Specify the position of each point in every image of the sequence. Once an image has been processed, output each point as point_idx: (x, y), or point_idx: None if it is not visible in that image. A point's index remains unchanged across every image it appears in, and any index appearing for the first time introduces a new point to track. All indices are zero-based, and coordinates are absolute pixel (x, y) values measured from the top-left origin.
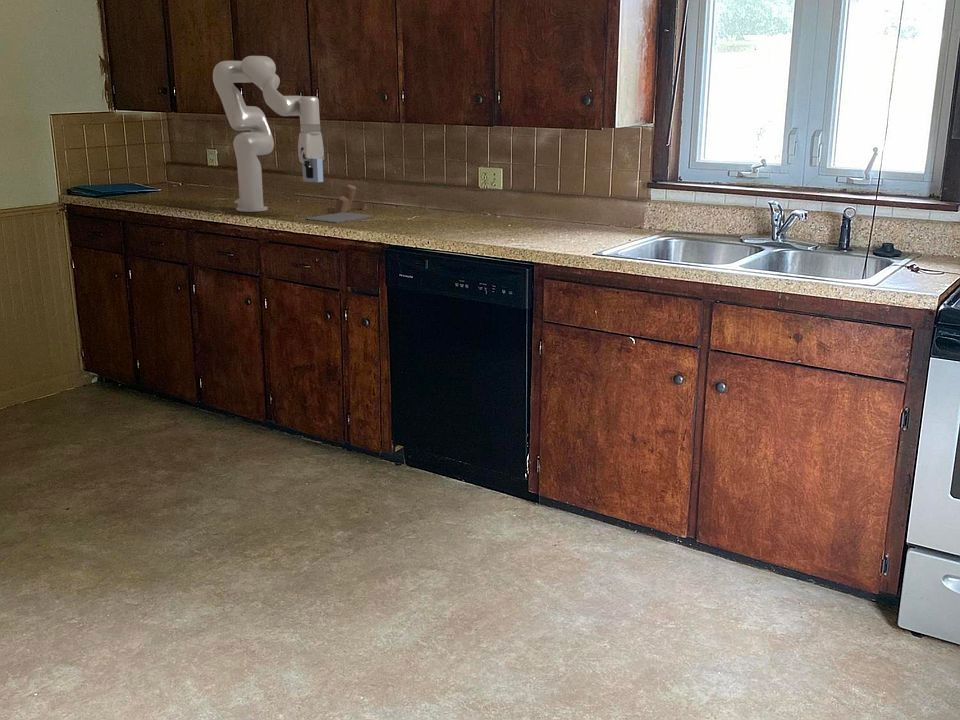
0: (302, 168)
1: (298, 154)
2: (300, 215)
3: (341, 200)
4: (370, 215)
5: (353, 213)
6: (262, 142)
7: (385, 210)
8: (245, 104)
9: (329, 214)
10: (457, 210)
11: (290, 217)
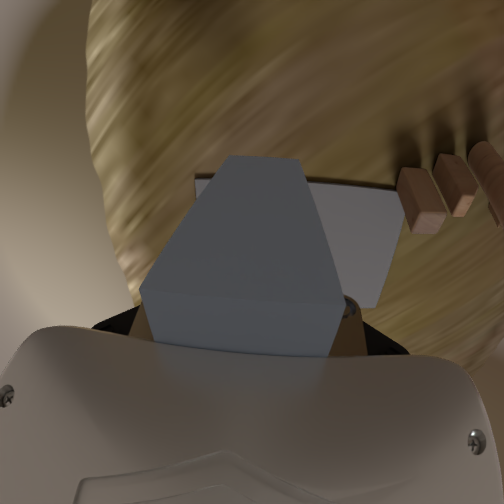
0: (201, 194)
1: (5, 373)
2: (277, 80)
3: (413, 225)
4: (371, 304)
5: (394, 244)
6: None
7: (486, 263)
8: None
9: (336, 188)
10: (483, 354)
11: (205, 88)
